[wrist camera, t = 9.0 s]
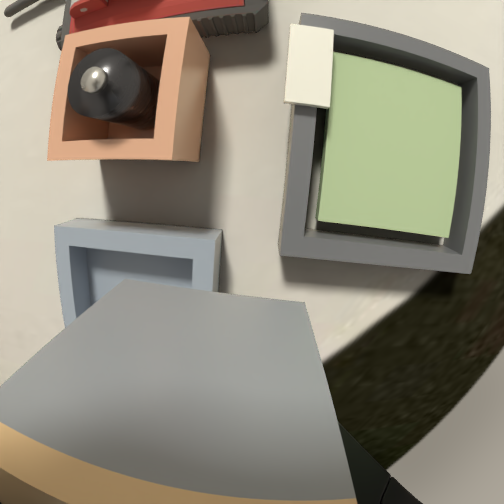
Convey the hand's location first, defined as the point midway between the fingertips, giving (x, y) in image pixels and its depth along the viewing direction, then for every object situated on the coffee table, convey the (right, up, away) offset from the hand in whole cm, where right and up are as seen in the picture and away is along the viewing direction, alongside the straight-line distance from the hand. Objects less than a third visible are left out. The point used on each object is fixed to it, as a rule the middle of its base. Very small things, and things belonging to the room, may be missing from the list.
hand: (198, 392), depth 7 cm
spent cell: (-4, +11, +8) cm, 14 cm away
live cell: (0, 0, +1) cm, 1 cm away
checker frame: (+9, +9, +8) cm, 15 cm away
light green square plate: (+9, +9, +8) cm, 15 cm away
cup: (-4, +11, +8) cm, 15 cm away
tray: (-5, -1, +12) cm, 13 cm away
